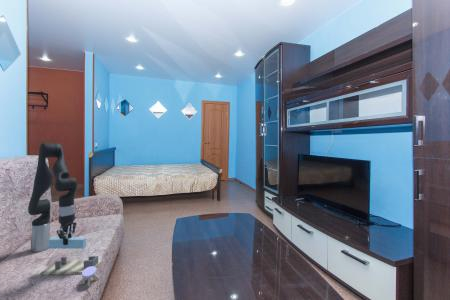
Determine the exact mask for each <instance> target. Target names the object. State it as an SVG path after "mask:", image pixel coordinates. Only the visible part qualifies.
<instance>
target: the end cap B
mask: <svg viewBox="0 0 450 300" xmlns="http://www.w3.org/2000/svg"><path fill="white" fill-rule="evenodd" d="M87 258H88V259H85V261H84V268H87V267H90V266H94V267H95V266H96V265H97V264H98V260H99V255H89V256H88V257H87Z"/></svg>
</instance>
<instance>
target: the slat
mask: <svg viewBox="0 0 450 300" xmlns="http://www.w3.org/2000/svg"><path fill="white" fill-rule="evenodd" d="M86 247H87V237H72V238H68V244H67V245H63V239H60V238H59V237H50V239H49V248H48V249H52V250H53V249H58V250H59V249H61V250H62V249H64V250H65V249H68V250H69V249H79V250H80V249H85V248H86Z"/></svg>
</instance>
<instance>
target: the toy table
mask: <svg viewBox="0 0 450 300" xmlns="http://www.w3.org/2000/svg"><path fill="white" fill-rule="evenodd" d="M96 273H97V268H96V267H94V266H90V267H87V268H86V269H84V270H83V272H82V274H81V277H82V279H80V280H79V282H78V285H83V284H85V283H86V280H87V287H91V279H93V281H98V280H100V275H97V274H96Z"/></svg>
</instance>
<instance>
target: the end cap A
mask: <svg viewBox="0 0 450 300" xmlns="http://www.w3.org/2000/svg"><path fill="white" fill-rule="evenodd" d="M67 261H68V259H67V256H62V257H60V260H57V261H54V263H55V269H60V268H61V265H66V264H67Z"/></svg>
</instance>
